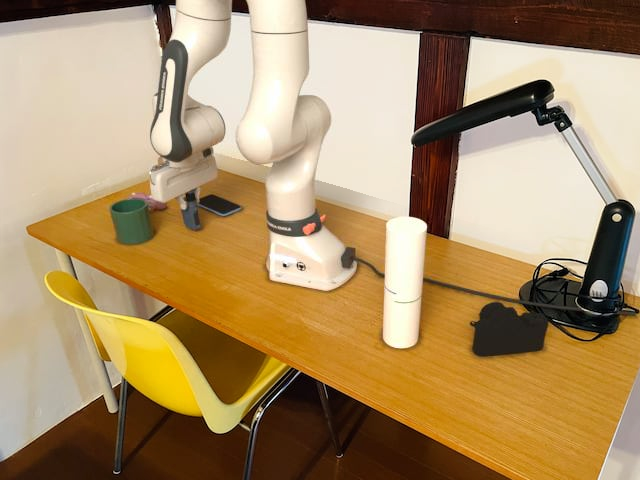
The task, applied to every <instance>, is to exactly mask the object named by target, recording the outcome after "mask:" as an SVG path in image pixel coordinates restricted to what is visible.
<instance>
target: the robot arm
mask: <svg viewBox="0 0 640 480" xmlns="http://www.w3.org/2000/svg"><path fill="white" fill-rule="evenodd" d="M245 1H246V3H247V6H248V12H249V13H248V14H249V26H250V36H251V38H250V39H251V50H252V66H253V68H252V69H253V74H252V82H251V88H250V89H251V90H250V94H249V98H248V102H247V107H246V109H245V112H244V114H243V116H242V118H241V119H240V121H239V123H238V124H237V126H236V128H235V143H236V147H237V149H238V151H239V152H240V154H241V155H242V157H244V159H245V160H247V161H248V162H249V163H251V164H254V165H256V166H257V165H258V166H261V165H269V164H271V167H270V169H269V170H268V172H267V174H266V177H265V180H264V181H265V182H264V183H265V184H264V186H265V195H266V206H267V209H266V212H265V214H266V216H265V217H266V220H265V221H266V226H267V229H268V251H267V257H266V262H265V266H266V269H267V270H268V272H269V280H270V281H273V282H277V283H283V284H287V285H293V286H299V287H303V288H304V287H305V288H309V289H314V290H318V291H319V290H320V291H325V292H329V291H332V290H335V289H337V288H340V287H341V286H342V285H345V284H346V283H347V282H348V281H349V280H351V278H352V277H353V276H354V275H355V273H356V272H357V269H358V263H361V264H363V265H365V266H367V267H369V268H370V269H371V270H372V271H373V273H375V275H377V276H379V277H380V278H384V279H385V273H384V274H383V273H381V272H380V271H378V270H377V268H376V267H375V266H374V265H373V264H372V263H370V262H368V261H366V260H364V259H361V258H358V257H356V256H357V255H356V253H357V252H356V247H351V246H347V247H346V246H345V243H344V242H342V241H341V240H340V239H339V238H338V237H337V236H336V235H335V234H333V233H332V232H331V231H330V230H329V229H328V228H327V227H326V226H325V225H324V224H323V222H324V221H325V220H326V216H327V214H323V215H322V216H321V215H320V213H319V210H318V208H317V207H316V174H317V168H318V163H319V158H320V154H321V150H322V145H323V142H324V140H325V138H326V136H327V134H328V132H329V131H330V128H331V125H332V114H331V109H330V108H329V106H328V104H327V103H326V101H324V100H323V99H322V98H321V97H319V96H317V95H314V94H303V95H301V90H302V87H303V85H304V83H305V81H306V80H307V78H308V76H309V72H310V49H309V48H310V47H309V25H308V12H307V5H306V0H245ZM232 9H233V0H175V17H174V18H175V19H174V24H173V29H172V32H171V35H170V38H169V40H168V42H167V44H166V46H165V47H164V50H163V51H162V57H161V61H160V62H161V63H160V69H159V70H160V71H159V79H158V86H157V92H156V93H155V94H154V95H152V100H151V101H152V103H151V106H152V107H151V109H152V115H153V120H152V122H151V125H150V130H149V140H150V144H151V146H152V149H153V150H154V152H155V153H156V154H157V155H159V157H160V156H161V157H162V159H163V162H162V163H160V164H155V165H153V166H152V168H151V169H150V171H149V173H148V177H149V186H150V188H149V189H150V193H151V194H150V195H152V199H153V200H155V201H157V202H160V203H166V204H167V203H168V202H170V201H172V200H174V199H175V200H176V201H177V203H179V206H180V210H181V209H183V210H185V209H187V208H189V203H188V202H187V201H184V200H183V198H184V197H185V193H187V192H189V191H191V190H193V189H194V193H195V198H196V203H199V198H200V194H201V191H202V188H201V187H202V186H203V185H205V184H207V183H211V182H212V181H214V180H216V179H217V177H218V174H219V172H218V166H217V160H216V158H215V156H214V154H215V153H214V146H217V145H218V144H220V143H221V142H223V140H224V138H225V136H226V123H225V120H224V118H223V116H222V114H221V113H220V112H219V111H218V110H217V109H216V108H215V107H213V106H212V105H206V104H204V103H201V102H199V101H197V100H196V99H195V98H193V97H191V96H190V95H189V94H188V93H189V88H190V84H191V82H192V80H193V78H194V77H195V76H196V74H197V73H198V72H199V71H200V70H201V69H203V67H204V66H206V65H207V64H208V63H209V62H211V61H212V60H214V59H216V58H217V57H218V56H219V55H220V54H222V52H223V51H224V50H226V48H227V45H228V43H229V40H230V35H231V29H232V12H233V11H232ZM423 282H426V283H431V284H434V285H437V286H441V287H445V288H448V289H452V290H457V291H462V292H465V293H469V294H473V295H477V296H482V297H486V298H489V299H495V300H499V301H505V302H509V303H515V304H522V305H526V306H533V307H540V308H548V309H557V310H565V311H574V312H585V311H584V310H582V309H581V308H582V307H578V306H577V307H576V306H565V305H559V304H549V303H543V302H542V303H541V302H535V301H529V300H522V299H516V298H510V297H505V296H501V295H495V294H491V293H488V292H487V293H486V292H482V291H478V290H474V289H470V288H465V287H461V286H457V285H453V284H450V283H446V282H442V281H438V280H434V279H431V278H427V277H423ZM617 311H618V312H617V313H615V314H614V315H620V316H622V315H623V316H632V317H633V316H636V315H637V312H635V311H624V310H623V311H622V310H617Z"/></svg>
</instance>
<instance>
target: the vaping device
mask: <svg viewBox="0 0 640 480" xmlns="http://www.w3.org/2000/svg"><path fill="white" fill-rule="evenodd" d="M183 200H184V201H187V202H188V203H189V208H187V209H185V210H183V209H181V208H180V211H181V216H182V221H183V224H184V226H185V228H187V229H190V230H193V231H197V230H199V229H201V228H202V222H201V217H200V213H199V208H198V207H199V206H198V205H197V203H196V198H195V193H194V189H193V190H191V191H189V192H187V193H185V194H184V198H183Z"/></svg>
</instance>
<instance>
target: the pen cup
mask: <svg viewBox="0 0 640 480" xmlns="http://www.w3.org/2000/svg"><path fill="white" fill-rule="evenodd" d="M108 210H109V214H110V218H111V222H112V225H113V229H114V232H115V235H116V239H117V241H118V243H120V244H123V245H129V246H131V245H139V244H142V243H146V242H148V241H150V240H151V239H152V238H153V237H154V236H155V229H154V225H153V221H152V216H151V211H149V207H148V203H147V201H146V200H143V199H138V198H131V199H128V198H125V199H121V200H118V201H115V202H113V203H112V204H111V205H110V206H109V209H108Z"/></svg>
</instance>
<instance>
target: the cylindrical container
mask: <svg viewBox="0 0 640 480" xmlns="http://www.w3.org/2000/svg"><path fill="white" fill-rule="evenodd" d="M427 231H428V224H427V223H426V222H425V221H424V220H422V219H420V218H417V217H414V216H398V217H393V218H391V219H389V220H388V221H387V222H386V224H385V253H384V256H385V257H384V275H385V278H384V286H383V287H384V288H383V314H382V315H383V316H382V317H383V318H382V339H383V341H384V342H385V344H387V345H388V346H390V347H392V348H395V349H408V348H411V347H413V346H415V345H416V344H417V343H418V341H419V335H420V321H421V310H422V296H423V285H424V284H423V283H424V281H423V278H424V271H425V257H426V246H427V233H428V232H427Z"/></svg>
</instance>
